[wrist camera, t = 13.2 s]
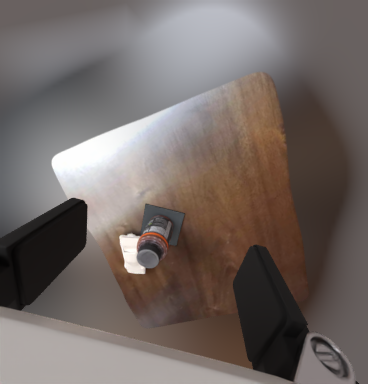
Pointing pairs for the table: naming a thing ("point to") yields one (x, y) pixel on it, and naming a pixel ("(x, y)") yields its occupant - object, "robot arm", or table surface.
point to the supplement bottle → (154, 241)
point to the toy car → (131, 253)
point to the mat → (172, 215)
